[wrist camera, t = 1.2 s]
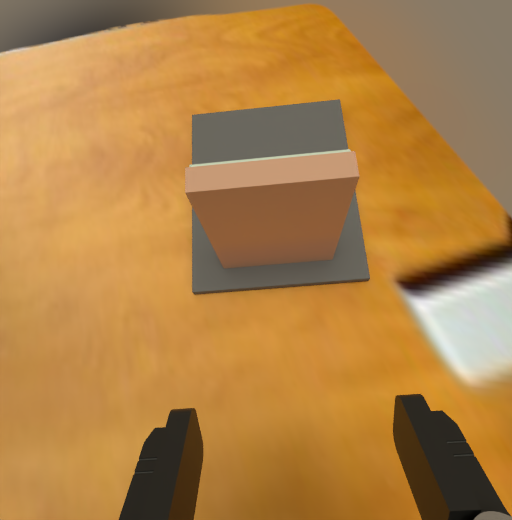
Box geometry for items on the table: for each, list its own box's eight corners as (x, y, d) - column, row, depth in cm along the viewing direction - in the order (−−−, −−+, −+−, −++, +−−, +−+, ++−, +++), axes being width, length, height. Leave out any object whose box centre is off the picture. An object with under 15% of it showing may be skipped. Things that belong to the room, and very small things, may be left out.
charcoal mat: (368, 280, 35) (369, 278, 34) (194, 294, 35) (192, 292, 35) (338, 104, 41) (339, 99, 41) (193, 120, 42) (192, 115, 42)
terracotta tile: (332, 259, 35) (359, 176, 22) (223, 268, 35) (185, 192, 22) (329, 239, 35) (354, 146, 22) (223, 248, 36) (185, 163, 23)
